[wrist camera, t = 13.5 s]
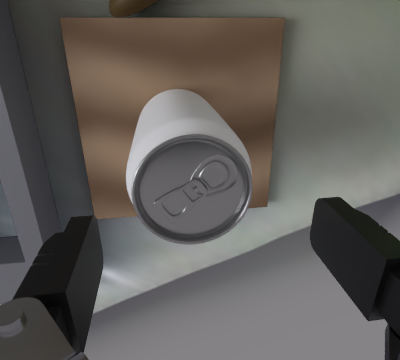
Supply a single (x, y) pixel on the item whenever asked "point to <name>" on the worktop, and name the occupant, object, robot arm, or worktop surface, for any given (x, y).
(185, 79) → the walnut board
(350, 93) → the worktop surface
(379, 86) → the worktop surface
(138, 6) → the kendama
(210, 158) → the can
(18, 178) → the grey block with hole
